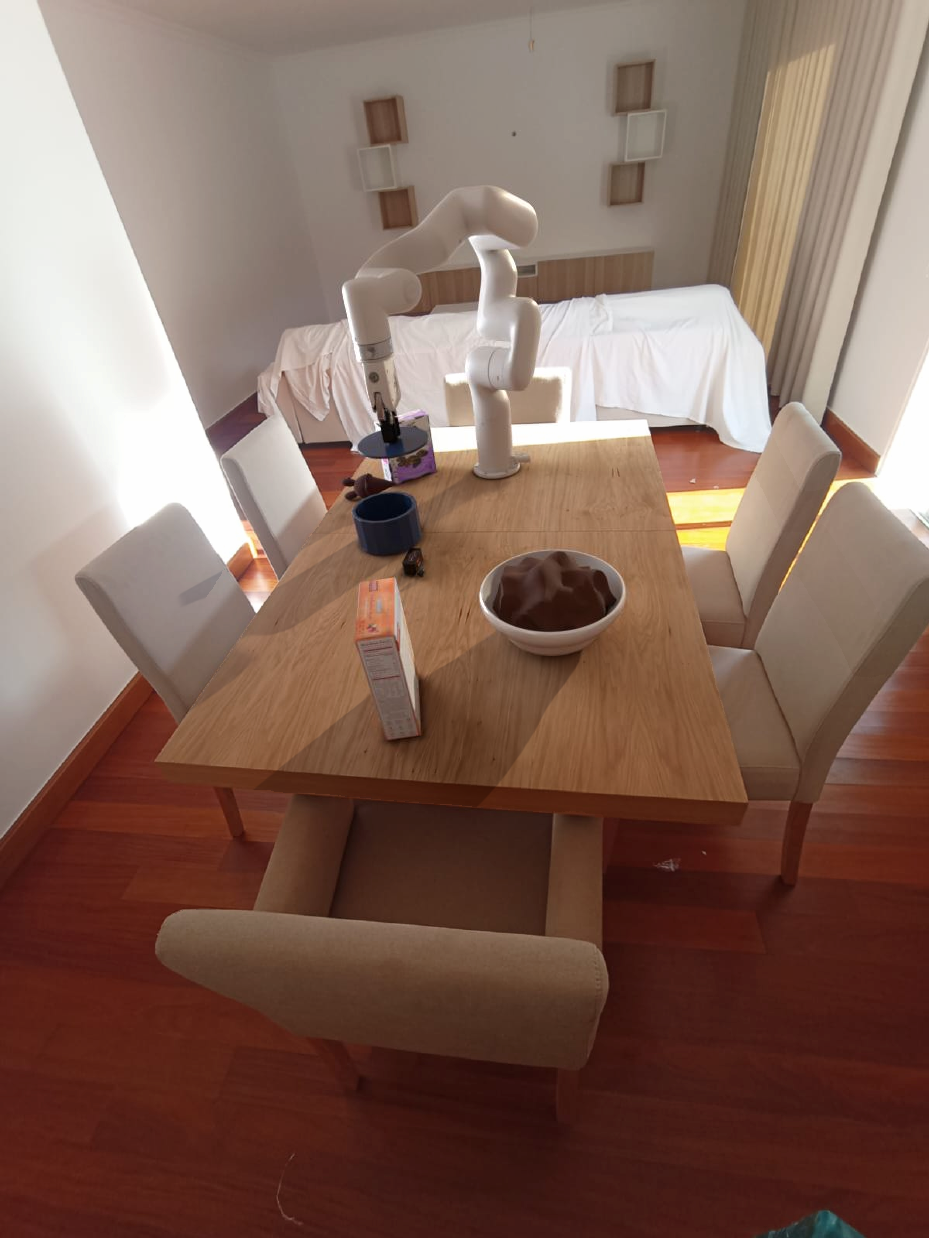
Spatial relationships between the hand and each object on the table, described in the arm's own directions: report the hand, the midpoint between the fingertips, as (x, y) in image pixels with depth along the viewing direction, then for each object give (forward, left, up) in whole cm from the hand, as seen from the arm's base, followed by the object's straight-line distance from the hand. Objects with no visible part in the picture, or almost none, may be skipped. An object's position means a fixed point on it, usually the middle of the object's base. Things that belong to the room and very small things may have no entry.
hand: (392, 438), depth 129 cm
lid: (0, 0, -1) cm, 1 cm away
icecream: (+13, -18, -23) cm, 32 cm away
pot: (+4, +4, -23) cm, 23 cm away
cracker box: (-7, +58, -23) cm, 63 cm away
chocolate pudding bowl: (-32, +40, -23) cm, 56 cm away
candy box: (+4, -30, -23) cm, 38 cm away
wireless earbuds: (-4, +18, -23) cm, 29 cm away
